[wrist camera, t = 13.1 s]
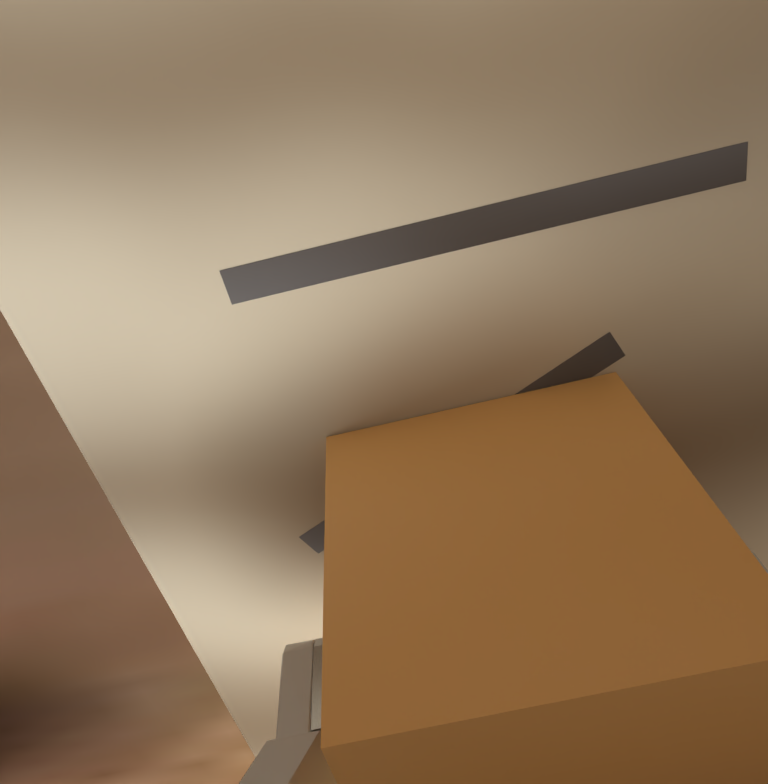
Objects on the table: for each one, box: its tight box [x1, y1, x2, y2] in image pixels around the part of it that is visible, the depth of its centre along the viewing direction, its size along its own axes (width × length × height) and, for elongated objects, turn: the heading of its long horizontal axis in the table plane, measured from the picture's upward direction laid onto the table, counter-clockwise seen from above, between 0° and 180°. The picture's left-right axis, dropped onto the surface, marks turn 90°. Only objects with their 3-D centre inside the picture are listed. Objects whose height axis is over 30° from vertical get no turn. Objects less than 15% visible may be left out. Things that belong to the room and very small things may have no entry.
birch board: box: [0, 0, 768, 758], centre depth 11 cm, size 22×12×2 cm, turn 13°
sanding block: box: [321, 372, 768, 784], centre depth 10 cm, size 8×4×5 cm, turn 13°
